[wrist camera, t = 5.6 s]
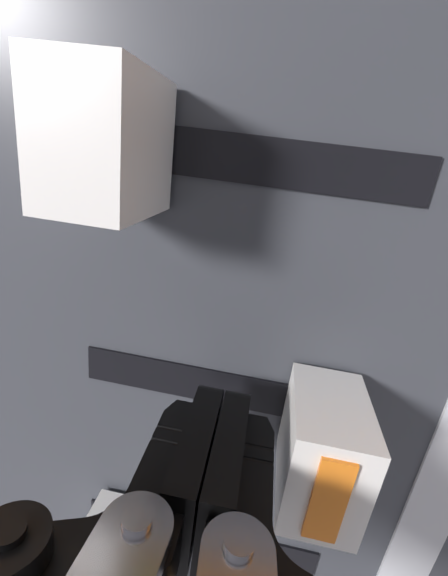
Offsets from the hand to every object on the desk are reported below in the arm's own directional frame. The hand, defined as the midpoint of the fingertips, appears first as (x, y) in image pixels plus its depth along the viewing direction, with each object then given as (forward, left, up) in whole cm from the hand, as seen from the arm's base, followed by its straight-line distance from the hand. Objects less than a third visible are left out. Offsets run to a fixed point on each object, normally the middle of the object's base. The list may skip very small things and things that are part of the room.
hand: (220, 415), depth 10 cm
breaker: (+3, -7, -1) cm, 8 cm away
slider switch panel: (0, 0, -5) cm, 5 cm away
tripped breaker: (-3, 0, -1) cm, 3 cm away
